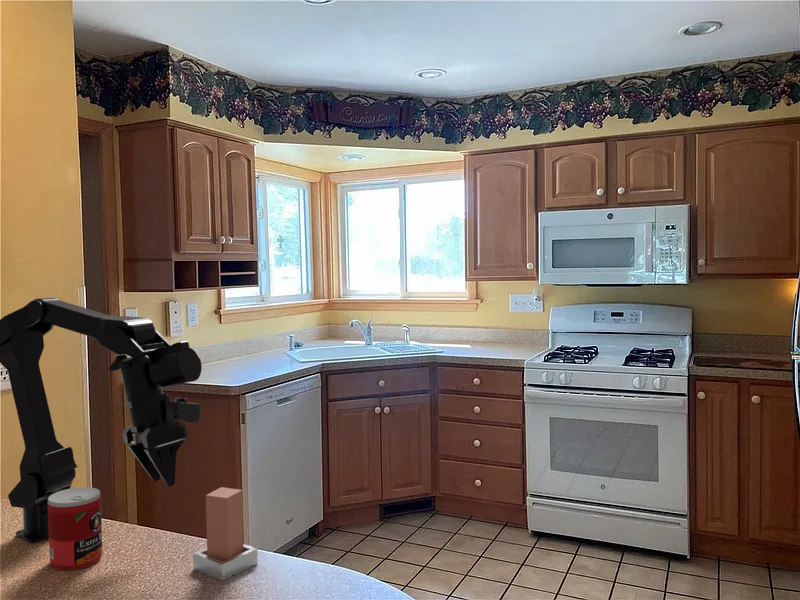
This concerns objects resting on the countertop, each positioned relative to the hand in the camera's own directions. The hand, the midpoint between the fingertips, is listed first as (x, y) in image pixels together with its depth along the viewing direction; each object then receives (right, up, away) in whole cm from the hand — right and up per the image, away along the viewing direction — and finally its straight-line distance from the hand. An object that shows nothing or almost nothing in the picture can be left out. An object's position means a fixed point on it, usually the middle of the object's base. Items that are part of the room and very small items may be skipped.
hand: (163, 482), depth 110 cm
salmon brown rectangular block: (+12, -12, -5) cm, 18 cm away
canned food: (-13, -12, -2) cm, 18 cm away
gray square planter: (+12, -12, -5) cm, 17 cm away
